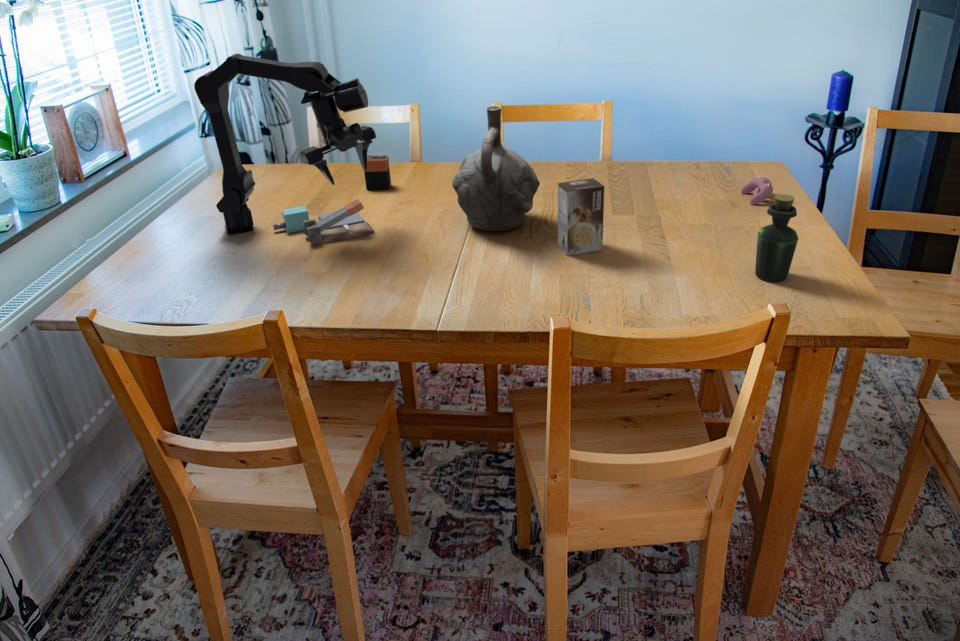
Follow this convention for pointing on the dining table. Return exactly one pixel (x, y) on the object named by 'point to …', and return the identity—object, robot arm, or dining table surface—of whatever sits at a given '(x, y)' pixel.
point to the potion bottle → (777, 241)
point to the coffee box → (580, 216)
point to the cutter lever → (340, 215)
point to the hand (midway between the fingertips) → (349, 177)
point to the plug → (293, 219)
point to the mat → (344, 220)
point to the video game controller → (758, 189)
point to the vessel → (495, 182)
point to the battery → (377, 172)
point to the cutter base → (334, 232)
